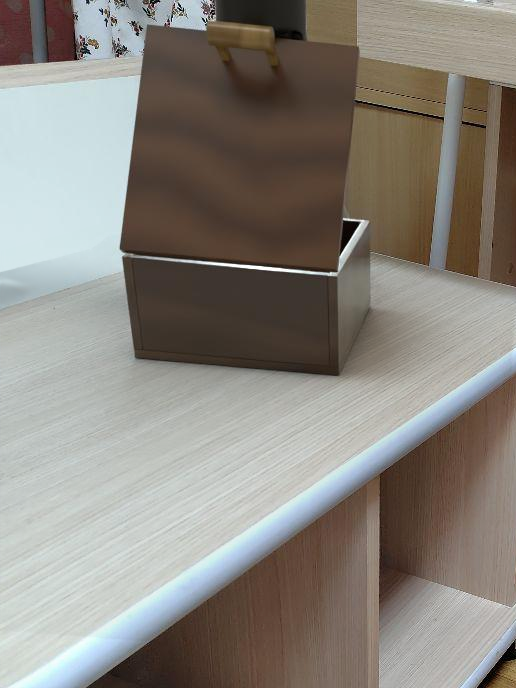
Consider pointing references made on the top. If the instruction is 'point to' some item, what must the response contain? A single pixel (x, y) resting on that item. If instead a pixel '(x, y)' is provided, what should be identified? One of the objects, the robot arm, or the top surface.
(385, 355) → the top surface
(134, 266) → the chest
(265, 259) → the lid
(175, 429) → the top surface
